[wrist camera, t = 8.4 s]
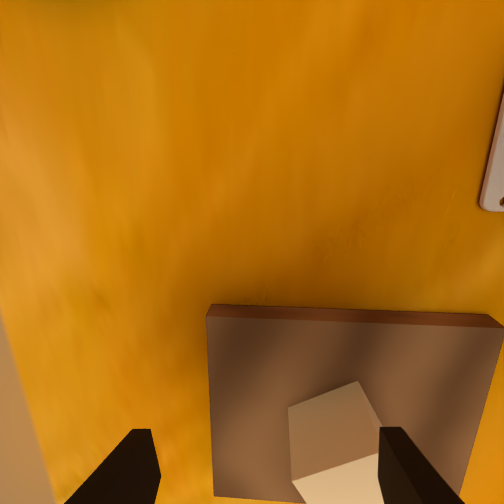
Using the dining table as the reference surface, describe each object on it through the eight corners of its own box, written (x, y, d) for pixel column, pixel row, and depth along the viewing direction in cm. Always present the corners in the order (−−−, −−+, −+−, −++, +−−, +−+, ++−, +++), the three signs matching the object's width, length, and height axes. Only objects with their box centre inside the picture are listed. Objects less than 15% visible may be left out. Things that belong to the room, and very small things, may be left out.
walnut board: (488, 314, 18) (506, 328, 16) (441, 491, 22) (453, 515, 21) (211, 304, 19) (206, 316, 18) (217, 475, 23) (213, 496, 22)
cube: (357, 380, 18) (383, 451, 14) (387, 435, 19) (420, 517, 15) (287, 407, 19) (291, 481, 15) (320, 458, 20) (332, 541, 16)
